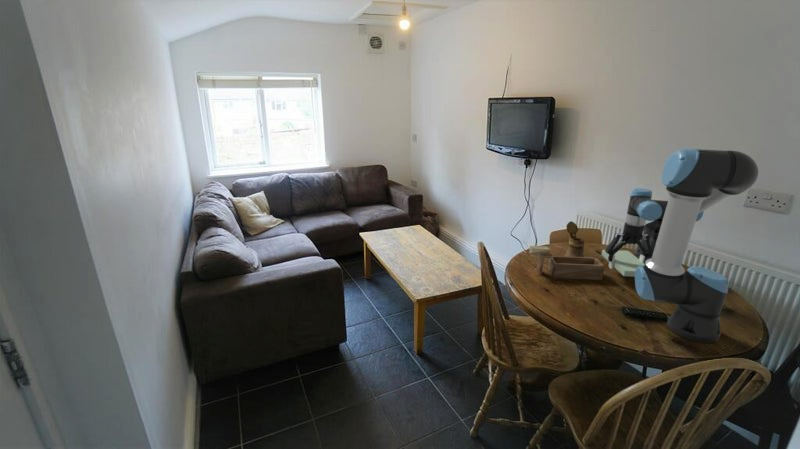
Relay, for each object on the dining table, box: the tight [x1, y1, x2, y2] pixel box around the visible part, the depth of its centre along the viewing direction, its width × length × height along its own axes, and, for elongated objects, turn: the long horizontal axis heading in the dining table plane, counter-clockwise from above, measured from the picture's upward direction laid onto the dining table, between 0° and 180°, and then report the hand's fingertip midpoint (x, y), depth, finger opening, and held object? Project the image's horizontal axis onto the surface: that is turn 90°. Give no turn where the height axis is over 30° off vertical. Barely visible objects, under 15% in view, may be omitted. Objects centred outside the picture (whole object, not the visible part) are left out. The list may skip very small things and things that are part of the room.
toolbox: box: [536, 252, 606, 281], centre depth 177 cm, size 10×28×10 cm, turn 85°
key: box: [528, 245, 550, 255], centre depth 177 cm, size 3×8×3 cm, turn 85°
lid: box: [601, 249, 645, 278], centre depth 172 cm, size 12×23×2 cm, turn 175°
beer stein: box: [633, 219, 663, 264], centre depth 181 cm, size 16×19×25 cm
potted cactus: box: [564, 220, 585, 257], centre depth 194 cm, size 9×14×18 cm, turn 4°
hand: (625, 268), depth 173 cm, fingers closed on lid, 12 cm apart
